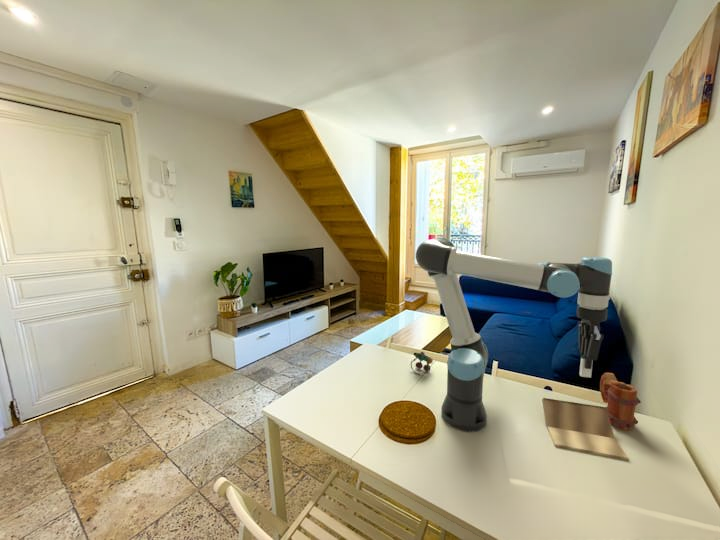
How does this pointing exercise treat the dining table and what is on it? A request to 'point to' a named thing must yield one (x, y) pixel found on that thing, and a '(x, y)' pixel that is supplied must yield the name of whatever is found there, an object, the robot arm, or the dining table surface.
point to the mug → (619, 401)
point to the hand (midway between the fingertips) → (585, 375)
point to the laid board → (587, 443)
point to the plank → (577, 417)
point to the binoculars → (422, 357)
